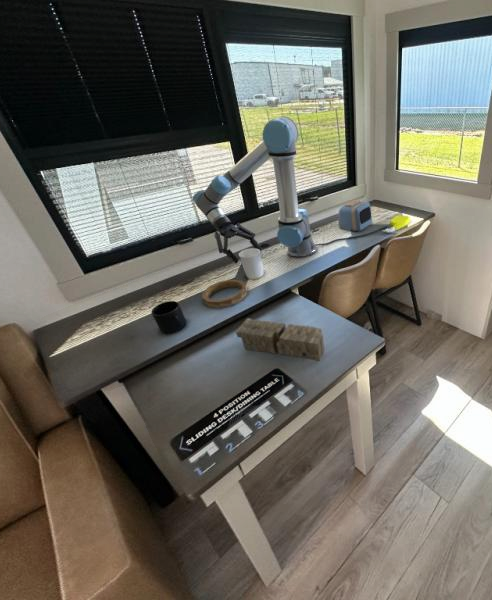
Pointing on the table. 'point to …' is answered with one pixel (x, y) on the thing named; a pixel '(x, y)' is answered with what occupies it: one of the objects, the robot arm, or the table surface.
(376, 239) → the table surface
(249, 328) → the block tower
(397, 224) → the spray bottle
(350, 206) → the alarm clock
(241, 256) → the white cup
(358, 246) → the table surface
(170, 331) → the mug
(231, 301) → the stand
